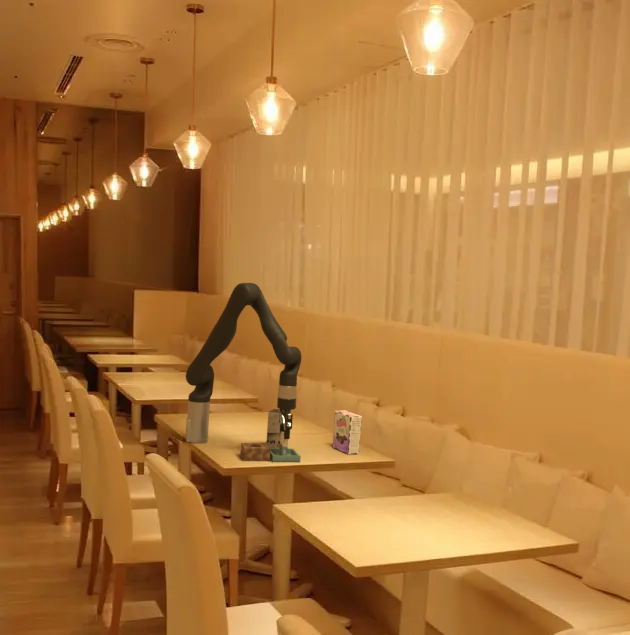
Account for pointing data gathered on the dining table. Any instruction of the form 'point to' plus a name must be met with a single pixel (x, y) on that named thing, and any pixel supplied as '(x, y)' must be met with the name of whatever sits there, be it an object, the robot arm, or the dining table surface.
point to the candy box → (347, 432)
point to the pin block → (255, 452)
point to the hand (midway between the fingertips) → (284, 436)
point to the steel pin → (283, 444)
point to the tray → (284, 456)
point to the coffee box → (273, 429)
